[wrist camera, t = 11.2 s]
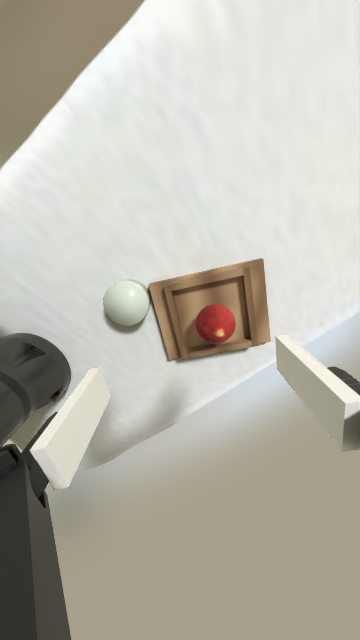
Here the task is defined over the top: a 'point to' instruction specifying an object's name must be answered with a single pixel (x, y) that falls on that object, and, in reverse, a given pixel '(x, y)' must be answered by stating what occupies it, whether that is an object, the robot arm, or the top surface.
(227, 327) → the onion
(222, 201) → the top surface
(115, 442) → the top surface
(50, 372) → the robot arm
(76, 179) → the top surface
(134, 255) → the top surface
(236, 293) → the tray
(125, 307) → the pale green dome
